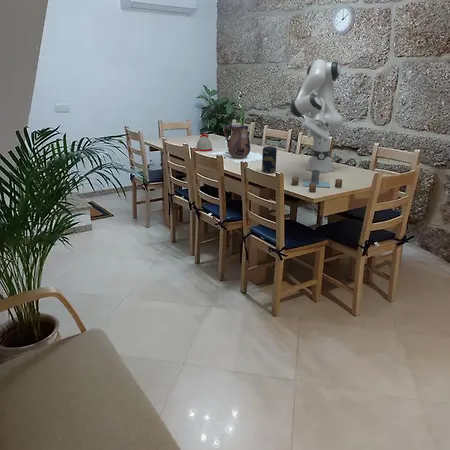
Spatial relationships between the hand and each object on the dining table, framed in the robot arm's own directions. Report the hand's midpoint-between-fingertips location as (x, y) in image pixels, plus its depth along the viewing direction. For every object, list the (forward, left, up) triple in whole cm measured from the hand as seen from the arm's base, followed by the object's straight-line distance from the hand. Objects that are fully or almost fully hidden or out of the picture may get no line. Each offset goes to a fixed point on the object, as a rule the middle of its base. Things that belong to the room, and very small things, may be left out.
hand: (314, 140), depth 257 cm
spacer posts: (+12, +3, -27) cm, 29 cm away
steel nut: (+2, +2, -26) cm, 26 cm away
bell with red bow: (-97, -88, -27) cm, 134 cm away
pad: (+3, +3, -27) cm, 27 cm away
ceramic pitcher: (-70, -56, -27) cm, 94 cm away
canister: (-25, -28, -27) cm, 46 cm away
